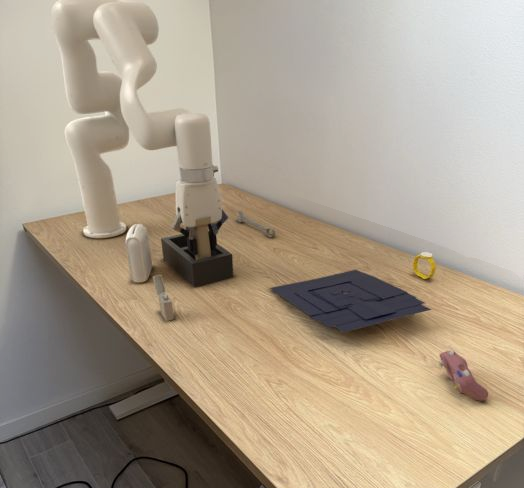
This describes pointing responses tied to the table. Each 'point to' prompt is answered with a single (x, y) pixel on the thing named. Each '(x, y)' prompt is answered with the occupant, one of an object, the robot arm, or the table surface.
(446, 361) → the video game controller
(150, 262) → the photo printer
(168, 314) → the lighter
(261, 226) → the combination wrench
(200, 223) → the handle
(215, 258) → the holder
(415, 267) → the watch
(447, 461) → the table surface
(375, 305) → the navy flat block
